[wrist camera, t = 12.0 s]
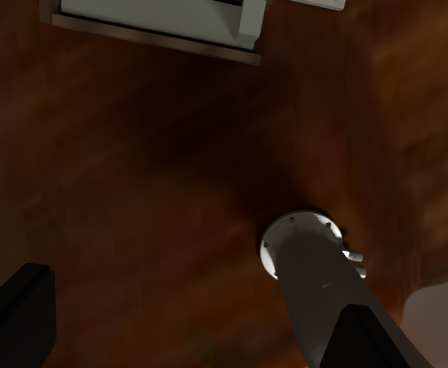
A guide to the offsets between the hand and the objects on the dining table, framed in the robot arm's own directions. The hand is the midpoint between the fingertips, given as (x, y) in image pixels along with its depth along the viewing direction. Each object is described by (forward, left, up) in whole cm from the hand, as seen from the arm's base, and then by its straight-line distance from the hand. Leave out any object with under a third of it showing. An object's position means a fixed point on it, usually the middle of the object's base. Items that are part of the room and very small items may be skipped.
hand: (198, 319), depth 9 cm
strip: (+8, -14, -30) cm, 34 cm away
